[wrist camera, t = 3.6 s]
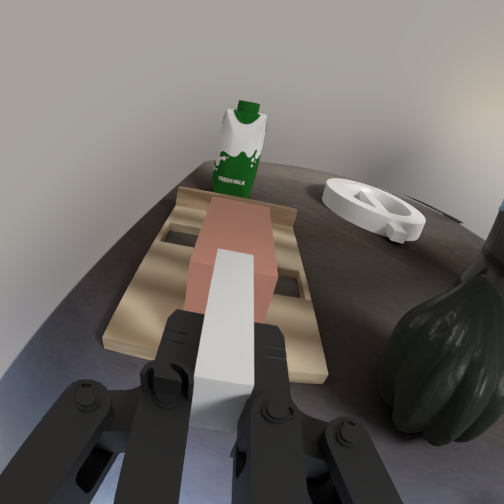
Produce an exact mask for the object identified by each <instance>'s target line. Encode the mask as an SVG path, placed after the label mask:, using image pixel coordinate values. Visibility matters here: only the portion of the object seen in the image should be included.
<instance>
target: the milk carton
mask: <svg viewBox="0 0 504 504" xmlns="http://www.w3.org/2000/svg"><path fill="white" fill-rule="evenodd" d="M259 107H260V104H257V103H252V102H247V101H241V100H239V103H238V108H237V109H235V108H228V109H227V110H226V113H225V115H224V118H223V122H222V127H221V132H220V136H219V141H218V146H217V151H216V157H215V162H214V168H213V181H212V192H214V193H220V194H225V195H231V196H236V197H241V198H246V199H248V197H249V194H250V191H251V189H252V186H253V183H254V180H255V177H256V173H257V169H258V164H259V160H260V155H261V151H262V147H263V142H264V135H265V132H266V130H265V127H267V115H264V114H260V113H258V111H259Z"/></svg>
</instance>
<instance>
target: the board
mask: <svg viewBox="0 0 504 504" xmlns="http://www.w3.org/2000/svg"><path fill="white" fill-rule="evenodd" d="M213 196H214V197H219V198H225V199H230V200H235V201H241V202H246V203H251V204H256V205H261V206H266V207H269V209H270V216H271V224H272V232H273V239H274V247H275V255H276V263H277V271H278V279H277V282H276V286H275V289H274V292H273V295H272V299H271V302H270V305H269V308H268V311H267V314H266V318H265V321H264V324H270V325H276V326H278V327H279V329H280V331H281V332H282V334H283V335H284V338H285V347H286V349H285V351H286V356H287V358H286V360H287V365H288V375H289V382H297V383H311V384H323V383H324V381H325V379H326V378H327V376H328V375H329V374H328V370H327V365H326V361H325V356H324V352H323V347H322V343H321V338H320V334H319V330H318V325H317V321H316V317H315V313H314V309H313V304H312V300H311V296H310V292H309V288H308V284H307V280H306V276H305V272H304V268H303V265H302V261H301V257H300V253H299V249H298V245H297V242H296V238H295V234H294V231H293V225H294V221H295V218H296V214H297V209H295V208H290V207H286V206H281V205H276V204H271V203H266V202H261V201H256V200H251V199H246V198H241V197H236V196H231V195H225V194H220V193H214V192H209V191H203V190H198V189H192V188H186V187H180V186H179V188H178V192H177V200H176V206H175V208H174V209H173V211H172V212H171V214H170V216H169V217H168V219H167V220H166V222H165V224H164V225H163V227H162V229H161V230H160V232H159V234H158V235H157V237H156V239H155V240H154V242H153V244H152V245H151V247H150V249H149V251H148V252H147V254H146V256H145V258H144V259H143V261H142V263H141V265H140V266H139V268H138V270H137V272H136V273H135V275H134V277H133V279H132V281H131V283H130V284H129V286H128V288H127V290H126V292H125V294H124V296H123V297H122V299H121V301H120V303H119V305H118V307H117V309H116V311H115V313H114V315H113V317H112V319H111V321H110V323H109V325H108V327H107V329H106V331H105V333H104V335H103V337H102V339H103V344H104V349H108V350H112V351H115V352H119V353H123V354H127V355H131V356H135V357H139V358H144V359H148V360H155V357H156V354H157V351H158V347H159V344H160V341H161V338H162V334H163V331H164V328H165V325H166V322H167V319H168V317H169V316H170V315H171V314H172V313H173V312H174V311H175V310H176V309H180V310H184V309H185V299H186V290H187V281H188V272H189V264H190V259H191V256H192V253H193V250H194V247H195V244H196V241H197V238H198V236H199V233H200V230H201V227H202V224H203V221H204V219H205V216H206V213H207V210H208V207H209V205H210V202H211V199H212V197H213Z"/></svg>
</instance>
